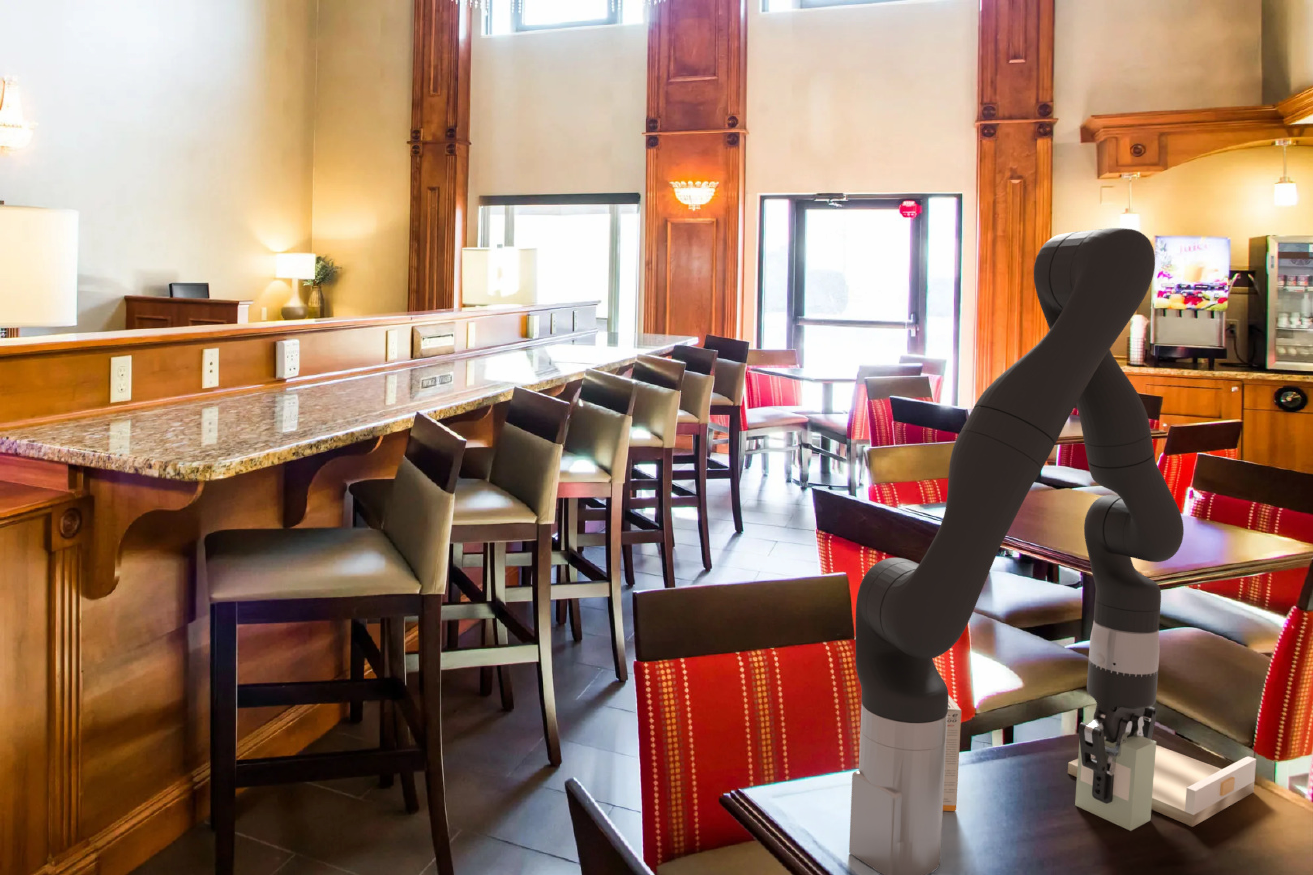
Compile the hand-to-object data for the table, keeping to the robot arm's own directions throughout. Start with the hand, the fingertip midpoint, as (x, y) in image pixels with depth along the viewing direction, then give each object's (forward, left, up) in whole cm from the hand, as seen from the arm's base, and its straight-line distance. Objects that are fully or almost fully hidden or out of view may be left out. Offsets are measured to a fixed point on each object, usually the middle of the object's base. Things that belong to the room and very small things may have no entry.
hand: (1113, 794), depth 109 cm
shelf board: (+13, +1, -2) cm, 13 cm away
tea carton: (0, 0, -2) cm, 2 cm away
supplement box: (-16, +15, -3) cm, 22 cm away
